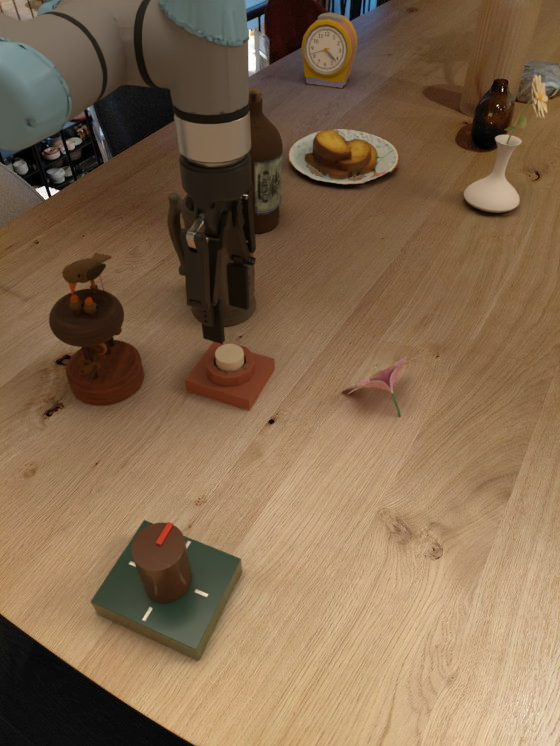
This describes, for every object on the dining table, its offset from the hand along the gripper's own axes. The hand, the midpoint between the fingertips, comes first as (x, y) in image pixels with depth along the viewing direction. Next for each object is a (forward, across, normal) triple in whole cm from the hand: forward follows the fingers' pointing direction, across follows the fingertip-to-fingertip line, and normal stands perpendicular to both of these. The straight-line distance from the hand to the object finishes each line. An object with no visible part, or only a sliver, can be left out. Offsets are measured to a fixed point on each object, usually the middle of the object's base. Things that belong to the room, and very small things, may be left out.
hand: (227, 322), depth 75 cm
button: (+7, 0, 0) cm, 7 cm away
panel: (+11, +31, +8) cm, 34 cm away
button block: (+11, 0, 0) cm, 11 cm away
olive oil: (+11, -42, -15) cm, 46 cm away
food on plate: (+11, -74, -7) cm, 75 cm away
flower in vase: (+11, -69, +28) cm, 75 cm away
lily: (+11, -5, +21) cm, 24 cm away
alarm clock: (+11, -125, -28) cm, 129 cm away
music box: (+11, +8, -16) cm, 21 cm away
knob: (+8, +31, +8) cm, 33 cm away
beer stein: (+11, -15, -11) cm, 22 cm away
